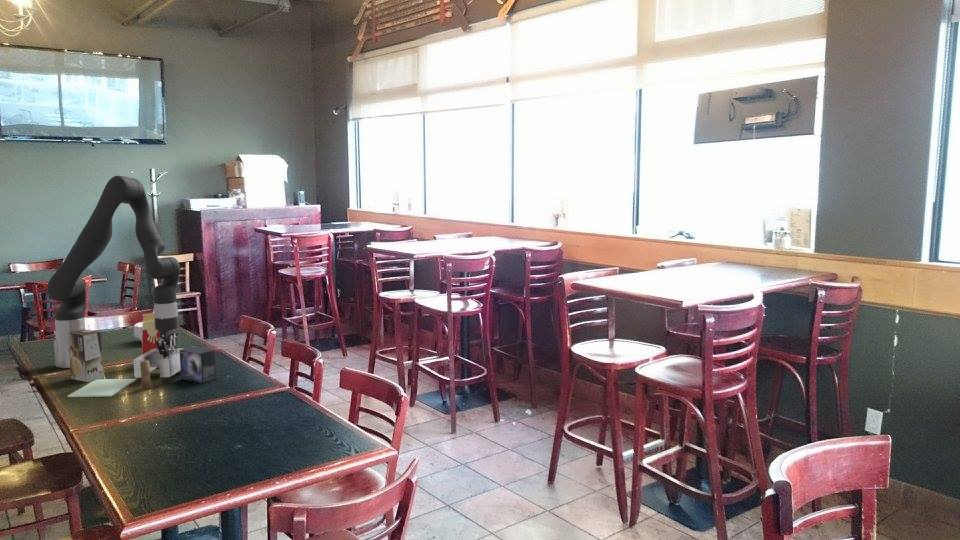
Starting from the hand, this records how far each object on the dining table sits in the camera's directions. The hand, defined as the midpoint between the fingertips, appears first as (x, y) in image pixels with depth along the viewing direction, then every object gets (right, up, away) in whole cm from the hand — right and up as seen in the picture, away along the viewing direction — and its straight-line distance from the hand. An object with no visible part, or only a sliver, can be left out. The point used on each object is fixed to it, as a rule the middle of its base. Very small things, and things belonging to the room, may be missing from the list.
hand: (169, 364), depth 244 cm
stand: (+1, -5, -18) cm, 19 cm away
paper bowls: (-27, +3, +48) cm, 55 cm away
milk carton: (-9, -2, +12) cm, 15 cm away
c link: (0, -2, -6) cm, 6 cm away
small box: (+14, -4, -8) cm, 16 cm away
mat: (-13, -5, -18) cm, 23 cm away
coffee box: (-25, -4, -7) cm, 26 cm away
